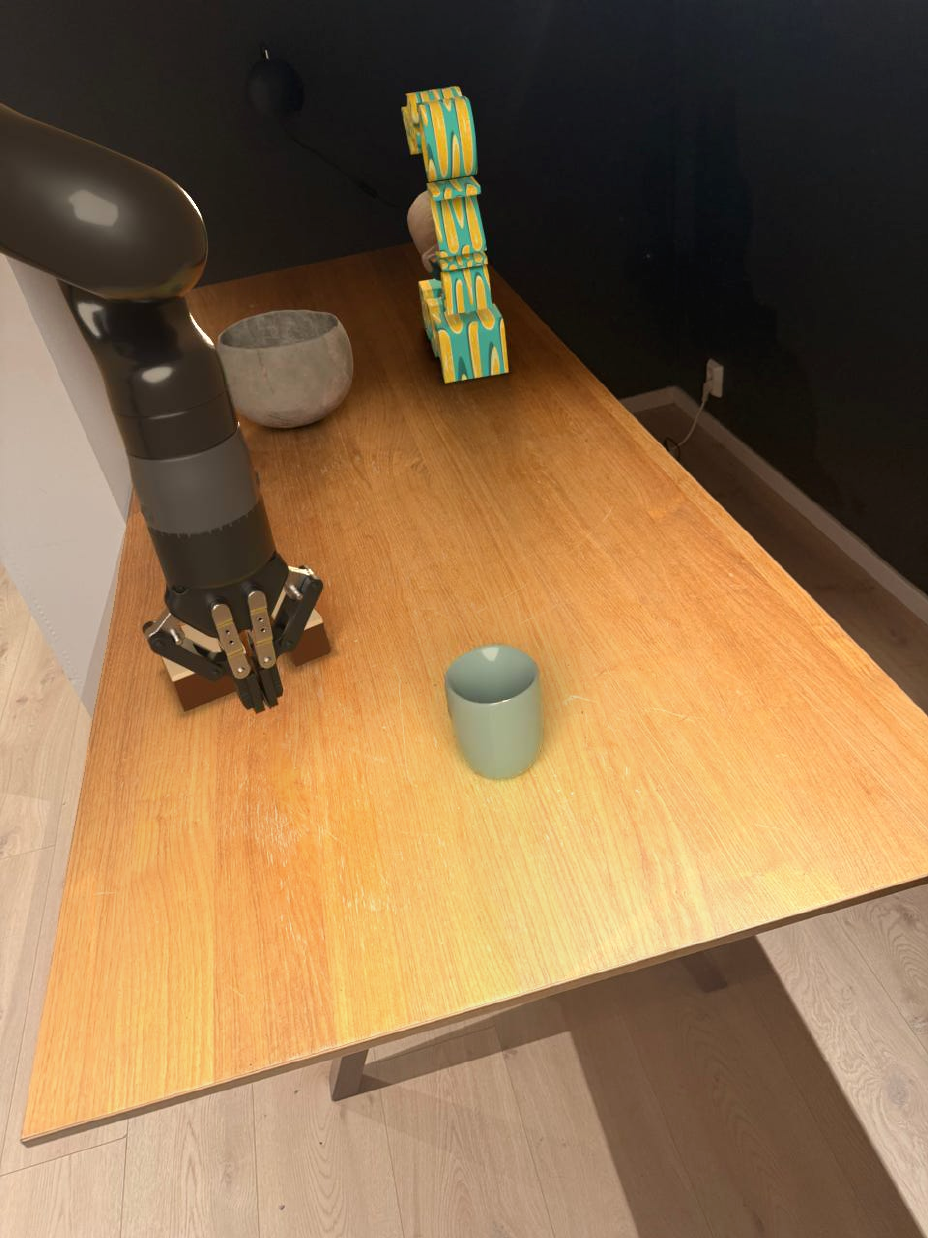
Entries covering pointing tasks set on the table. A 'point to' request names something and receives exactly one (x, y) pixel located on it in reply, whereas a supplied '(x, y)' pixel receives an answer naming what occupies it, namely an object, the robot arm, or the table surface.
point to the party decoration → (453, 238)
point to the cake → (197, 676)
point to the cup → (496, 710)
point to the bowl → (287, 366)
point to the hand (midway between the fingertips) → (263, 703)
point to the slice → (307, 638)
